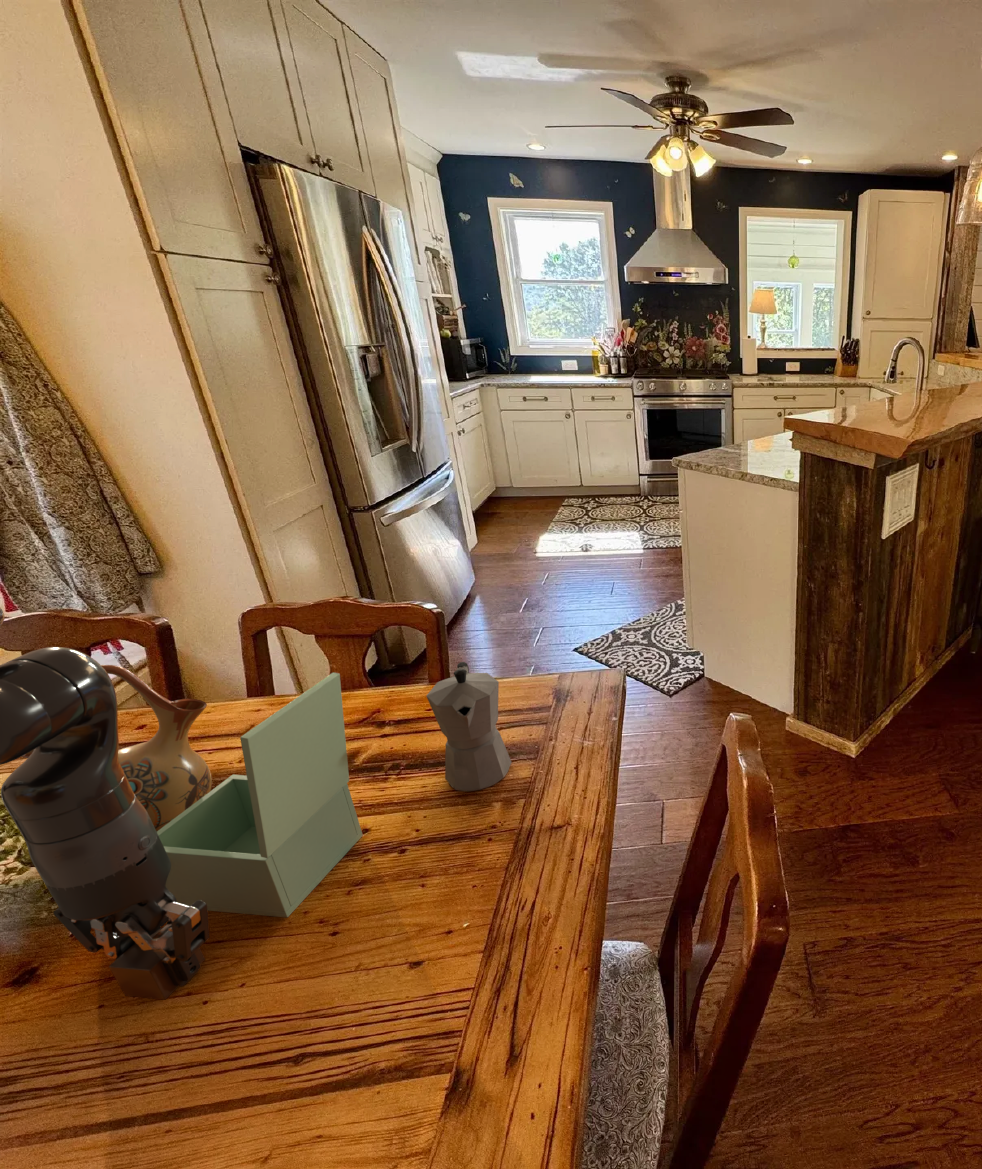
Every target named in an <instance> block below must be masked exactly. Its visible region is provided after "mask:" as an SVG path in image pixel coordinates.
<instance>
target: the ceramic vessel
mask: <svg viewBox="0 0 982 1169" xmlns="http://www.w3.org/2000/svg"><path fill="white" fill-rule="evenodd" d="M100 665H101V666H102V667H103V668H104V669H105V671H106V672H107V673H108V675H113V676H116V677H118V678H120V679H122V680H123V681H124V682H125V683H127V684H128V685H129V686H131V687H132V688H133V689H134V690H135V691H136V692H137V693H138V694H139V695H140V696H141V697H142V698H143V699H144V700H145V701H146V703H147V704H148V705H149V707H150V708H151V709H152V711H153V713H154V714H155V717H156V719H157V722H158V729H157V731H156V733H155V734H154V735H153V736H152V737H151V738H150V739H149V740H148V741H145V742H141V743H137V744H134V745H131V746H130V745H129V746H127V747H123V748H119V749H118V759H119V763H120V765H121V767H122V769H123V771H124V773H125V775H126V777H127V779H128V781H129V783H130V785H131V787H132V790H133V792H134V794H135V796H136V797H137V799H138V800H139V802H140V803H141V804H142V805H143V806H144V808H145V809H146V811H147V813H148V814H149V817H150V819H151V821H152V823H153V825H154V827H155V830H156V831H158V830H160V829H161V828H162V827H164V826H165V825H166V824H168V823H169V822H170V821H172V820H173V819H174V818H176V817H177V816H178V815H180V814H181V813H182V812H184V811H185V810H186V809H188V808H189V807H190V806H192V805H193V804H194V803H196V802H197V801H198V800H200V799H201V798H202V797H204V796H205V795H206V794H208V793H209V792H210V791H212V785H213V780H212V773H211V770H210V767H209V765H208V763H207V762H206V760H205V759H204V757H202V756H201V754H199V753H198V752H197V751H195V750H194V749H193V748H192V746H191V745H190V742H189V732H190V729H191V727H192V725H193V724H194V722H195V721H196V720H197V719H198V717H199V716H201V714H202V713H203V711H205V709H206V708H207V706H208V705H207V702H206V701H204V700H201V699H197V698H182V699H177V700H169V699H168V698H166V697H165V696H162V695H161V694H160V693H158V692H157V691H156V690H155V689H153V688H152V687H151V686H149V685H148V684H147V683H146V682H145V681H143V679H141V678H140V677H139V676H138V675H136V674H135V673H133V672H132V671H130V670H129V669H127V668H125V667H122V666H119V665H115V664H100ZM33 751H34V750H32V751H30V752H29V753H27V754H25V755H23V756H21V757H20V758H24V759H28V758H29V756H30V755H31V754H32V752H33Z"/></svg>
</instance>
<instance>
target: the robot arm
mask: <svg viewBox="0 0 982 1169" xmlns="http://www.w3.org/2000/svg"><path fill="white" fill-rule="evenodd" d="M4 621H5V612H4V611H3V609H2V608H1V607H0V626H2V624H4ZM101 665H102V664H100V663H99V662H98V661H97V660H95V659H94V658H92V657H91V656H90V655H88V654H86V653H84V652H82V651H80V650H76V649H74V648H69V647H64V646H63V647H62V646H48V647H43V648H38V649H35V650H32V651H29V652H26V653H25V654H22V655H19V656H17V657H15V658H13V659H11V660H8V661H6V662H5V663H2V664H0V766H2V765H5V764H9V763H10V762H13V761H15V760H18V759H19V758H22V757H21V756H23V755H25V754H27V753H29V752H30V751H32V750H34V751H33V752H32V754H31V755H30V756H29V758H26V759H25V761H23V762H22V763H21V764H20V765H19V766H18V767H16V768H15V770H13V771H12V772H11V773H10V774H9V776H8V777H7V778H6V779H5V780H4V782H3V783H2V786H1V788H0V797H1V801H2V803H3V805H4V807H5V809H6V811H7V812H8V814H9V815H10V817H11V820H13V822H14V824H15V826H16V828H17V829H18V831H19V832H20V834H21V836H22V837H23V839H24V842H25V844H26V847H27V852H28V855H29V857H30V860H31V862H32V864H33V866H34V868H35V870H36V871H37V873H38V874H39V877H40V878H41V880H42V882H43V883H44V885H45V886H46V888H47V890H48V891H49V894H50V895H51V897H52V898H53V900H54V902H55V903H56V905H57V907H58V908H56V909H55V910H54V911H53V915H54V917H56V919H58V921H59V922H60V923H61V924H62V925H63V926H64V927H65V928H66V929H67V930H68V931H69V933H71V934H72V936H74V938H76V940H77V941H78V942H79V943H80V944H81V945H82V946H83V947H84V948H85V949H86V950H87V951H88V952H90V953H92V954H96V953H98V952H99V951H100V950H103V951H104V952H103V953H104V955H105V956H106V957H107V958H109V959H111V960H116V959H118V958H119V957H120V956H121V955H122V954H123V953H124V952H125V951H127V950H128V949H129V948H130V947H131V946H132V945H133V944H134V943H136V944H137V945H138V946H139V947H140V948H141V949H142V950H143V951H150V950H152V951H153V952H154V953H155V954H156V955H157V956H158V957H159V958H160V959H161V961H163V965H164V967H165V969H166V971H167V973H168V975H169V977H170V979H171V981H172V983H173V984H174V986H178V987H184V986H186V984H188V982H190V981H191V979H192V978H193V977H195V976H196V974H197V973H198V972H200V970H201V967H202V966H201V964H200V963H199V962H198V959H197V957H196V955H195V953H194V952H195V951H196V950H197V949H198V948H199V947H200V948H201V947H202V945H203V944H206V943H207V941H208V940H210V927H209V911H207V904H206V903H205V902H203V901H201V900H197V901H195V902H194V903H193V904H192V905H191V906H186V905H182V904H179V903H177V900H176V897H175V896H174V895H173V894H172V893H171V892H170V891H169V890H168V889H167V888H166V886H165V885H166V881H167V878H168V875H169V873H170V870H171V861H170V859H169V857H168V855H167V853H166V851H165V848H164V846H163V844H162V842H161V840H160V838H159V836H158V834H157V831H156V830H155V827H154V825H153V823H152V821H151V819H150V817H149V814H148V813H147V811H146V809H145V808H144V806H143V805H142V804H141V803H140V802H139V800H138V799H137V797H136V796H135V794H134V792H133V790H132V787H131V785H130V783H129V781H128V779H127V777H126V775H125V773H124V771H123V769H122V767H121V765H120V763H119V759H118V750H120V748H119V747H120V739H119V738H120V737H119V717H118V716H119V712H118V699H117V692H116V688H115V685H114V682H113V680H112V679H111V676H110V674H108V673H107V672H106V671H105V669H104V668H103V667H102V666H101ZM160 928H162V929H161V930H160V931H159V932H158V933H157V934H156V935H155V936H153V937H151V936H150V935H152V934H154V933H155V932H156V931H157V930H159V929H160ZM92 929H93V930H94V934H95V935H94V934H93V933H92V932H91V930H92ZM172 935H173V941H174V945H172V946H171V947H170V948H169V947H168V946H167V945H166V941H167V940H168V939H169V938H170V937H171V936H172Z"/></svg>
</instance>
